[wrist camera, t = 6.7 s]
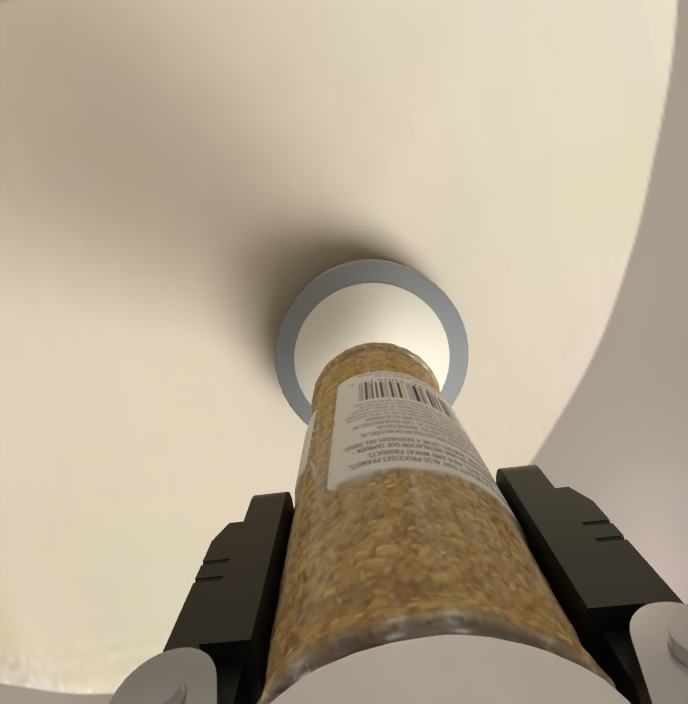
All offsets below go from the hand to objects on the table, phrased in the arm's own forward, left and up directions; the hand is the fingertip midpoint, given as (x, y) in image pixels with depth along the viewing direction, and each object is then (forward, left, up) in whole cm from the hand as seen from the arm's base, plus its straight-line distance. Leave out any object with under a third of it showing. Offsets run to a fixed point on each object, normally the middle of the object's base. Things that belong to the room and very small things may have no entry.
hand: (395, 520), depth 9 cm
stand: (0, 0, -15) cm, 15 cm away
